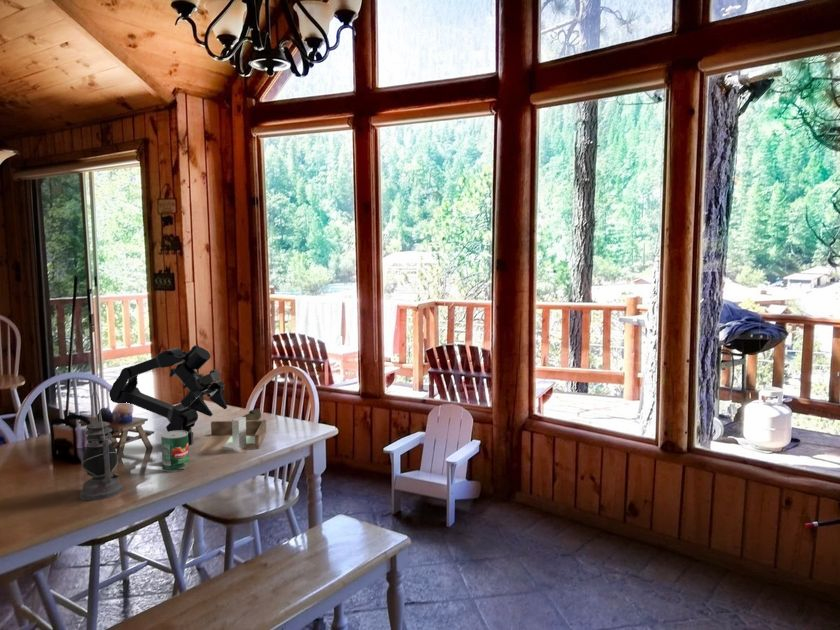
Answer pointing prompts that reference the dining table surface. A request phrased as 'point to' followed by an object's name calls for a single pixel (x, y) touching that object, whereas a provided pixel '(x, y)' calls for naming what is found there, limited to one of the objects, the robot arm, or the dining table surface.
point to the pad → (248, 440)
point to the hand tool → (253, 415)
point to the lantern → (100, 462)
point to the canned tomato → (174, 450)
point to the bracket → (237, 436)
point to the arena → (224, 431)
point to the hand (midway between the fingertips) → (219, 412)
